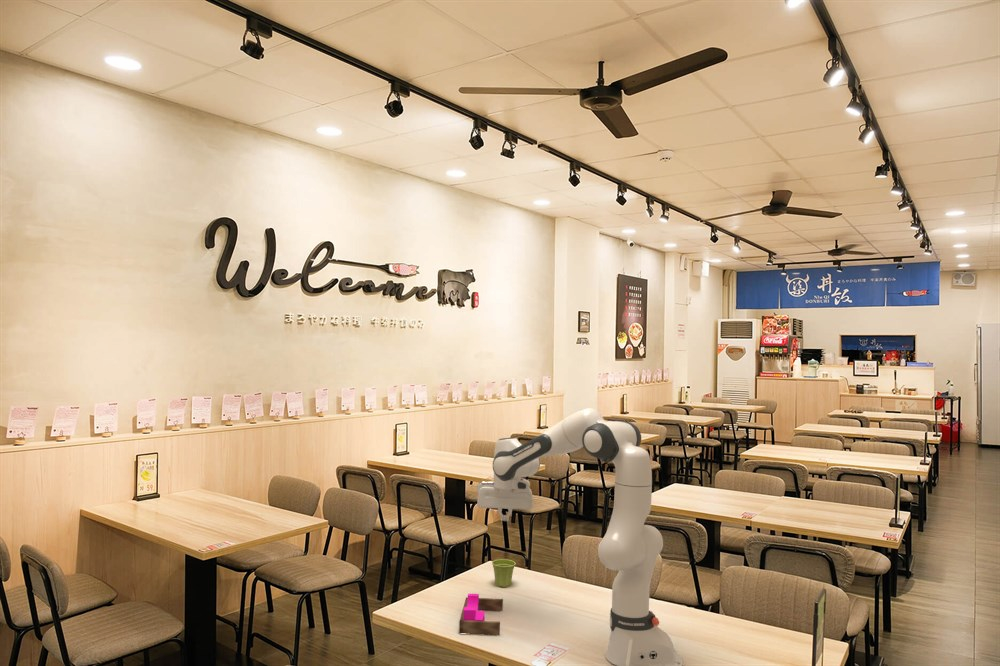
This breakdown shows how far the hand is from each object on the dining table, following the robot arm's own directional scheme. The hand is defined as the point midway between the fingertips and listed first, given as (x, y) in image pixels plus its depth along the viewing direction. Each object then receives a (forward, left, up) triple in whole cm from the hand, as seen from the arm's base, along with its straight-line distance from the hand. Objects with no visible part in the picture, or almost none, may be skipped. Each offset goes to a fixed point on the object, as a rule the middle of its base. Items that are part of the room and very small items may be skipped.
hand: (504, 520), depth 241 cm
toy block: (+9, +15, -32) cm, 36 cm away
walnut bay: (+7, +13, -31) cm, 34 cm away
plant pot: (+1, -24, -31) cm, 40 cm away
